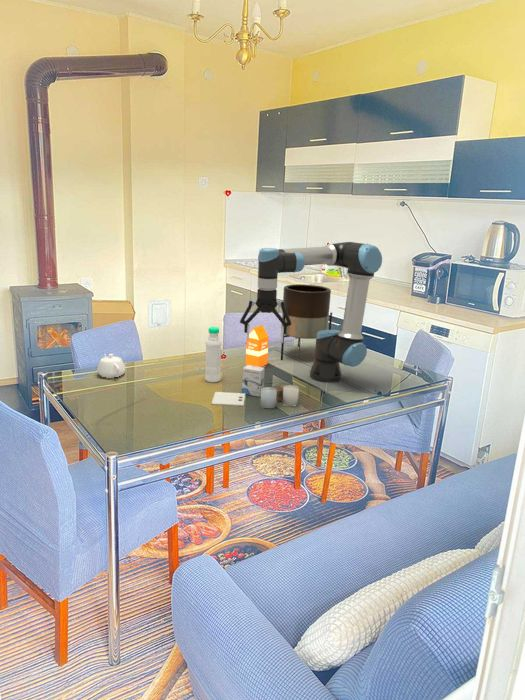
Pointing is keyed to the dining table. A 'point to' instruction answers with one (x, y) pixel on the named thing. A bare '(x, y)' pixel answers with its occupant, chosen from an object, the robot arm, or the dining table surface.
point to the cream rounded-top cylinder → (290, 395)
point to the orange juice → (257, 347)
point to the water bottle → (213, 356)
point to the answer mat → (228, 399)
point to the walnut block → (279, 393)
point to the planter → (306, 311)
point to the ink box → (253, 380)
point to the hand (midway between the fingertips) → (264, 341)
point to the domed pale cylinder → (268, 397)
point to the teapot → (111, 366)
